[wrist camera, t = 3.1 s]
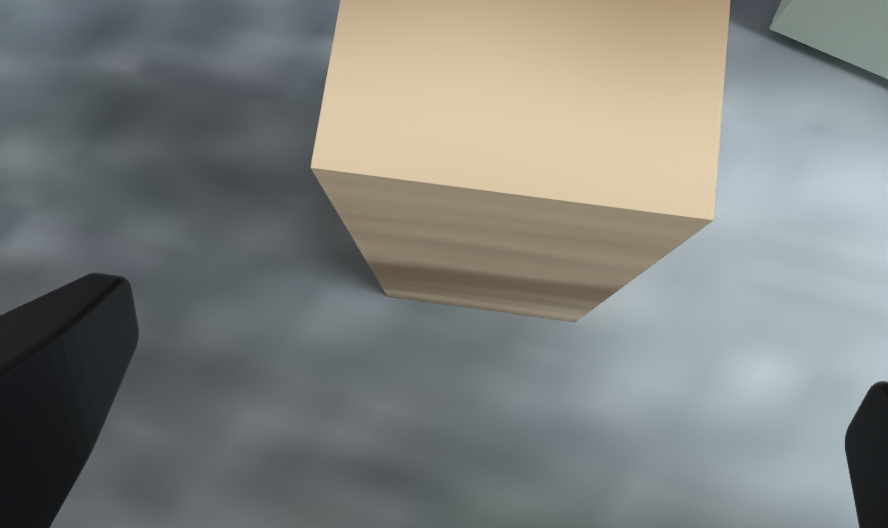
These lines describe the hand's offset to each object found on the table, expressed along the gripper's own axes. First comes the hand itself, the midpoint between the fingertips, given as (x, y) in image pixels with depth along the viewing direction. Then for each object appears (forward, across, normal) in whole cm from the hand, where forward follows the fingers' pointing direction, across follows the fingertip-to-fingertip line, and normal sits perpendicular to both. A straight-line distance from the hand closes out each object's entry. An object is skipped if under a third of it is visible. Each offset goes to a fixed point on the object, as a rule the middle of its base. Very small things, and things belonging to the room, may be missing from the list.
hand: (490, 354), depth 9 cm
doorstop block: (+11, 0, +5) cm, 12 cm away
